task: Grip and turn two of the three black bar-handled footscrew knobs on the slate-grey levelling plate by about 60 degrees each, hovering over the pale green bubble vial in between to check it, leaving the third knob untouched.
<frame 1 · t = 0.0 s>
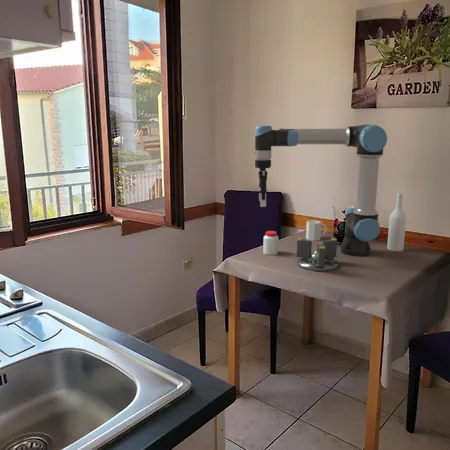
hand: (262, 203, 219), 28 cm above the table, fingers open, 13 cm apart
bottle: (395, 249, 241), on the table
knob B: (329, 249, 219), point 7 cm above the table, hinge at 0.0°
pill bottle: (270, 253, 236), on the table
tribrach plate: (317, 264, 217), on the table
knob A: (320, 255, 209), point 7 cm above the table, hinge at 0.0°
knob C: (304, 249, 219), point 7 cm above the table, hinge at 0.0°
mug: (316, 238, 262), on the table
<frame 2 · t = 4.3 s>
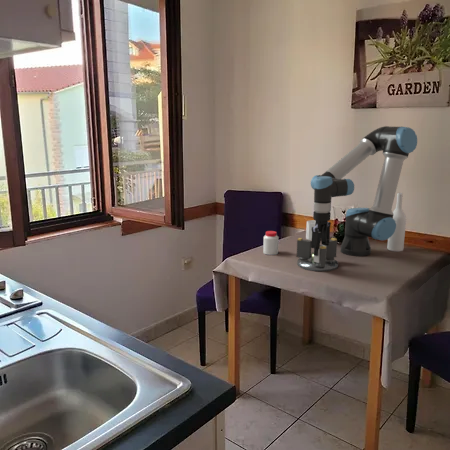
hand: (319, 260, 210), 4 cm above the table, fingers closed on knob A, 5 cm apart
knob A: (320, 255, 209), point 7 cm above the table, hinge at 11.0°, touching gripper
everything else where it was.
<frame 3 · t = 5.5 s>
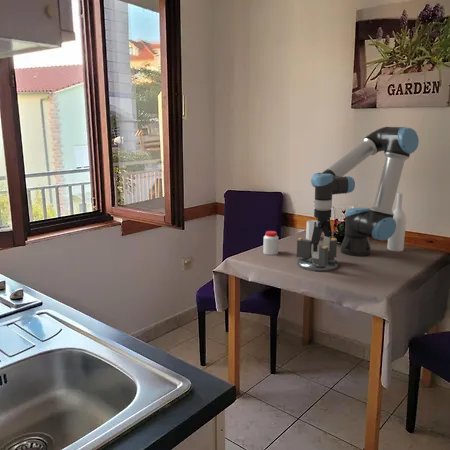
hand: (321, 254, 208), 7 cm above the table, fingers open, 13 cm apart
knob A: (320, 255, 209), point 7 cm above the table, hinge at 42.0°
everything else where it was.
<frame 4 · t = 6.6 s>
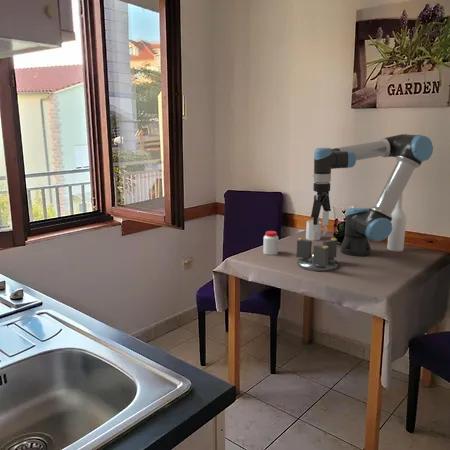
hand: (320, 228, 212), 18 cm above the table, fingers open, 13 cm apart
knob A: (320, 255, 209), point 7 cm above the table, hinge at 45.8°
everything else where it was.
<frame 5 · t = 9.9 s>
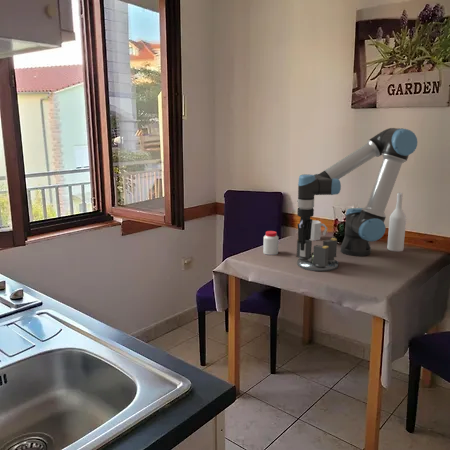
hand: (303, 255, 220), 4 cm above the table, fingers closed on knob C, 2 cm apart
knob A: (320, 255, 209), point 7 cm above the table, hinge at 46.7°
knob C: (304, 249, 219), point 7 cm above the table, hinge at 0.0°, touching gripper
everything else where it was.
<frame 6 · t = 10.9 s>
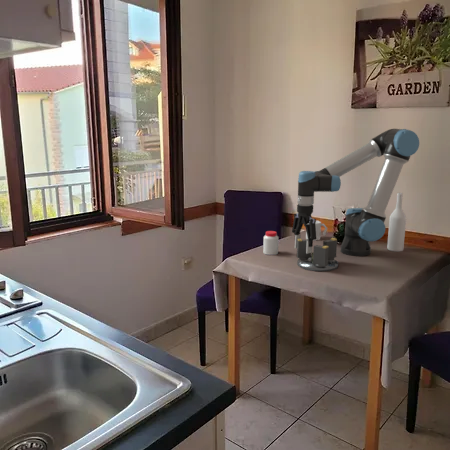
hand: (303, 250, 220), 6 cm above the table, fingers open, 8 cm apart
knob C: (304, 249, 219), point 7 cm above the table, hinge at 36.9°
everything else where it was.
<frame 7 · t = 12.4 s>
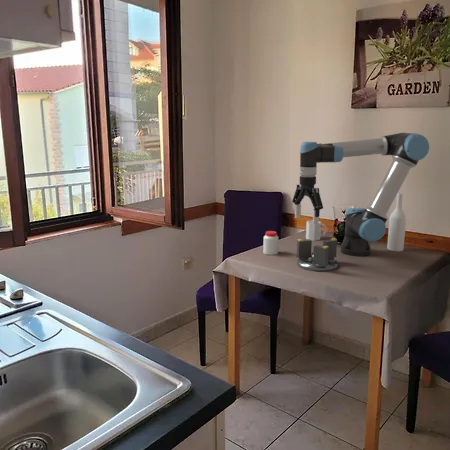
hand: (306, 220, 215), 21 cm above the table, fingers open, 13 cm apart
knob C: (304, 249, 219), point 7 cm above the table, hinge at 45.8°
everything else where it was.
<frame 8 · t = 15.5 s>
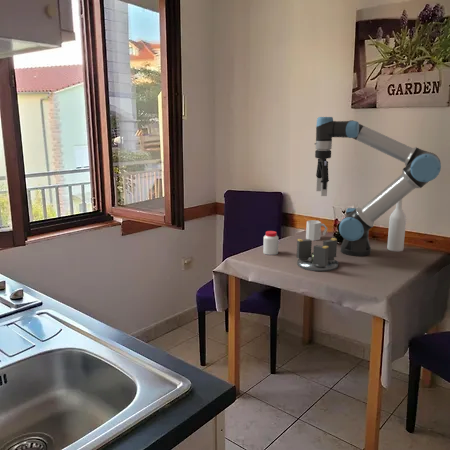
hand: (321, 193, 224), 32 cm above the table, fingers open, 13 cm apart
knob C: (304, 249, 219), point 7 cm above the table, hinge at 46.9°
everything else where it was.
at the end: knob A at +47° (first picture: +0°); knob C at +47° (first picture: +0°); knob B at +0° (first picture: +0°) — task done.
